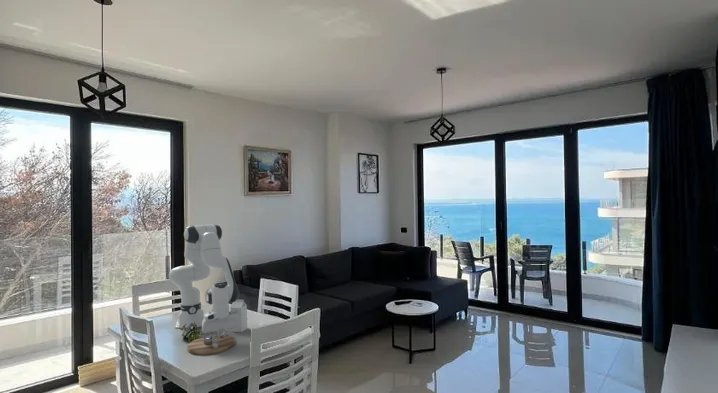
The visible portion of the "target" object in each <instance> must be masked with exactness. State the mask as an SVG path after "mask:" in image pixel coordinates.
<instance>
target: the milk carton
mask: <svg viewBox="0 0 718 393" xmlns="http://www.w3.org/2000/svg"><path fill="white" fill-rule="evenodd" d="M231 303H232V304H231V305H230V306H229V309H230V311H239V312H240V317H239V319H240V326H239V327H237V328H232V329H230V332H232V333H233V332H234V333H235V332H236V333H243V332H244V331H246V330H247V329H248V308H247V307H248V304H247V303H246V302H245V299H237V300H236V301H235V302H231Z"/></svg>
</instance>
